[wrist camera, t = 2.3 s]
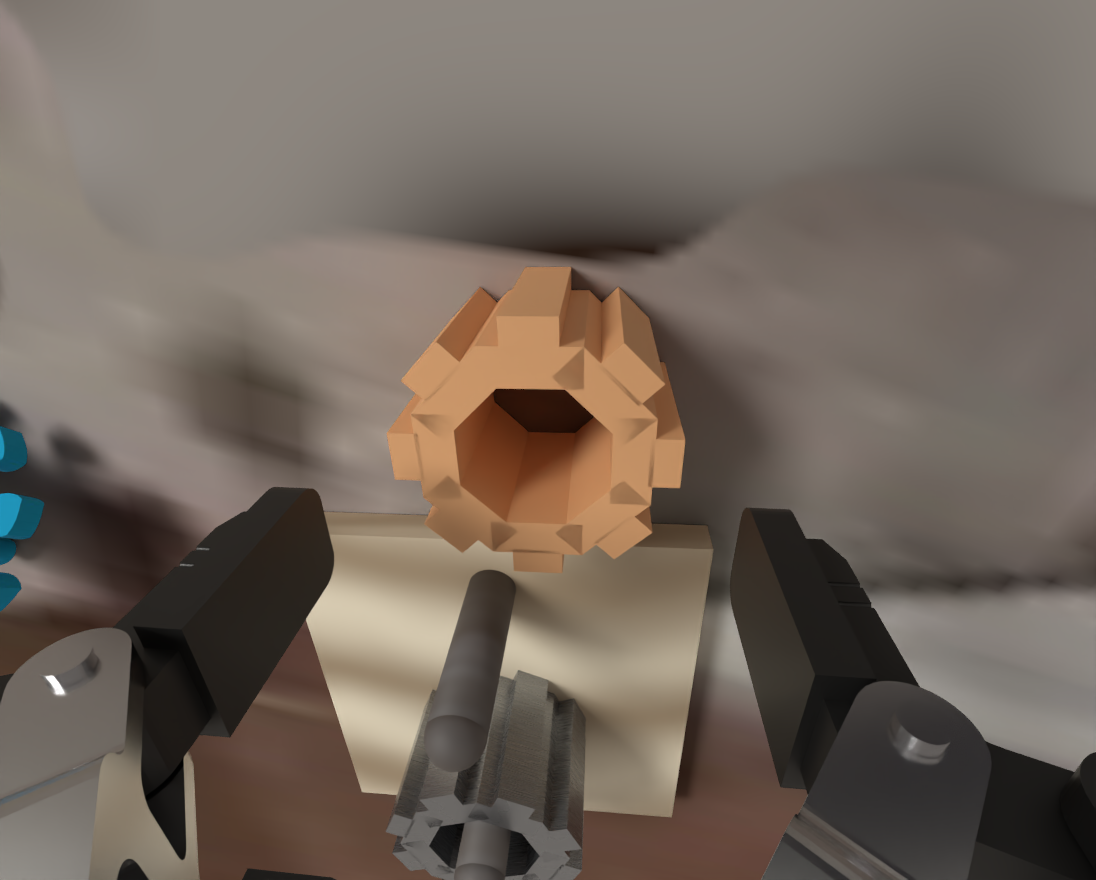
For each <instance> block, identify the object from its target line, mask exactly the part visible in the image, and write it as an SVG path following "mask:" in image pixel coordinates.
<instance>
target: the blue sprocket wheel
mask: <svg viewBox="0 0 1096 880" xmlns="http://www.w3.org/2000/svg"><path fill="white" fill-rule="evenodd" d="M26 463H27V448H26V444H25V441H24V438H23V436H22V433H20V432H17V431H14V430H10V429H7V428H4V427H1V426H0V471H3V472H11V471H15V470H18V469H19V468H21V467H23V466H24V465H25V464H26ZM43 507H44V502H43V501H41V500H39V499H37V498H33V497H28V496H23V495H17V494H12V493H4V494H0V565H2V564H5V563H7V562H9V561H10V560H11V559H12V558H13V557H14V555H15V553H16V544H15V542H14V541H12V540H10V539H8V538H11V539H27V538H31V536H32V535H33V533H34V532H35V530H36V528H37V526H38V524H39V522H40V518H41V515H42V511H43ZM21 589H22V588H21V584H20V582H19V580H18V579H17V578H16V577H15V576H14V575H11V574H9V573H1V572H0V611H1V610H3V609H4V608H5V607H6V606H7V605H8V604H9V603H10V602H11V601H12V600H13V598H14V597H15V596H16V595H17V593H18V592H19V591H20V590H21Z"/></svg>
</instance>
